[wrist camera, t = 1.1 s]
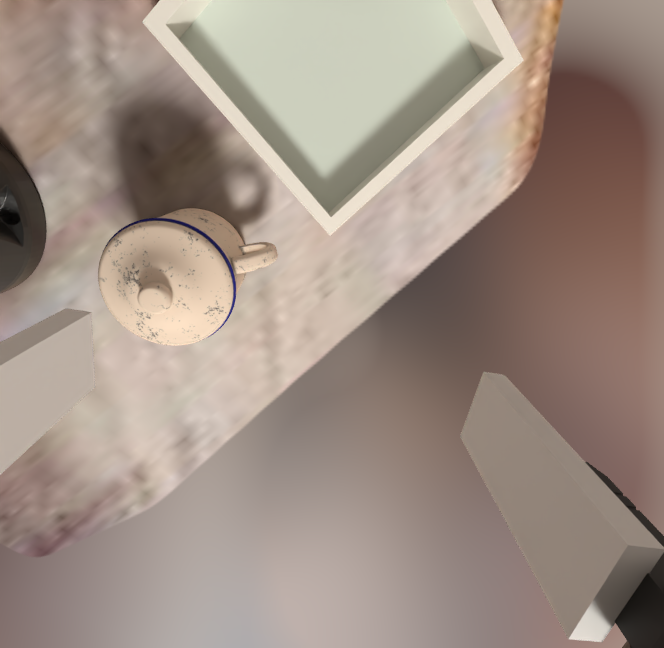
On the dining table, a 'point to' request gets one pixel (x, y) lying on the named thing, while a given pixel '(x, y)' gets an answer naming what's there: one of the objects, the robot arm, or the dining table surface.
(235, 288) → the teacup with lid
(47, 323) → the robot arm
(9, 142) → the dining table surface
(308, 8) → the tray
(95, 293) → the dining table surface
